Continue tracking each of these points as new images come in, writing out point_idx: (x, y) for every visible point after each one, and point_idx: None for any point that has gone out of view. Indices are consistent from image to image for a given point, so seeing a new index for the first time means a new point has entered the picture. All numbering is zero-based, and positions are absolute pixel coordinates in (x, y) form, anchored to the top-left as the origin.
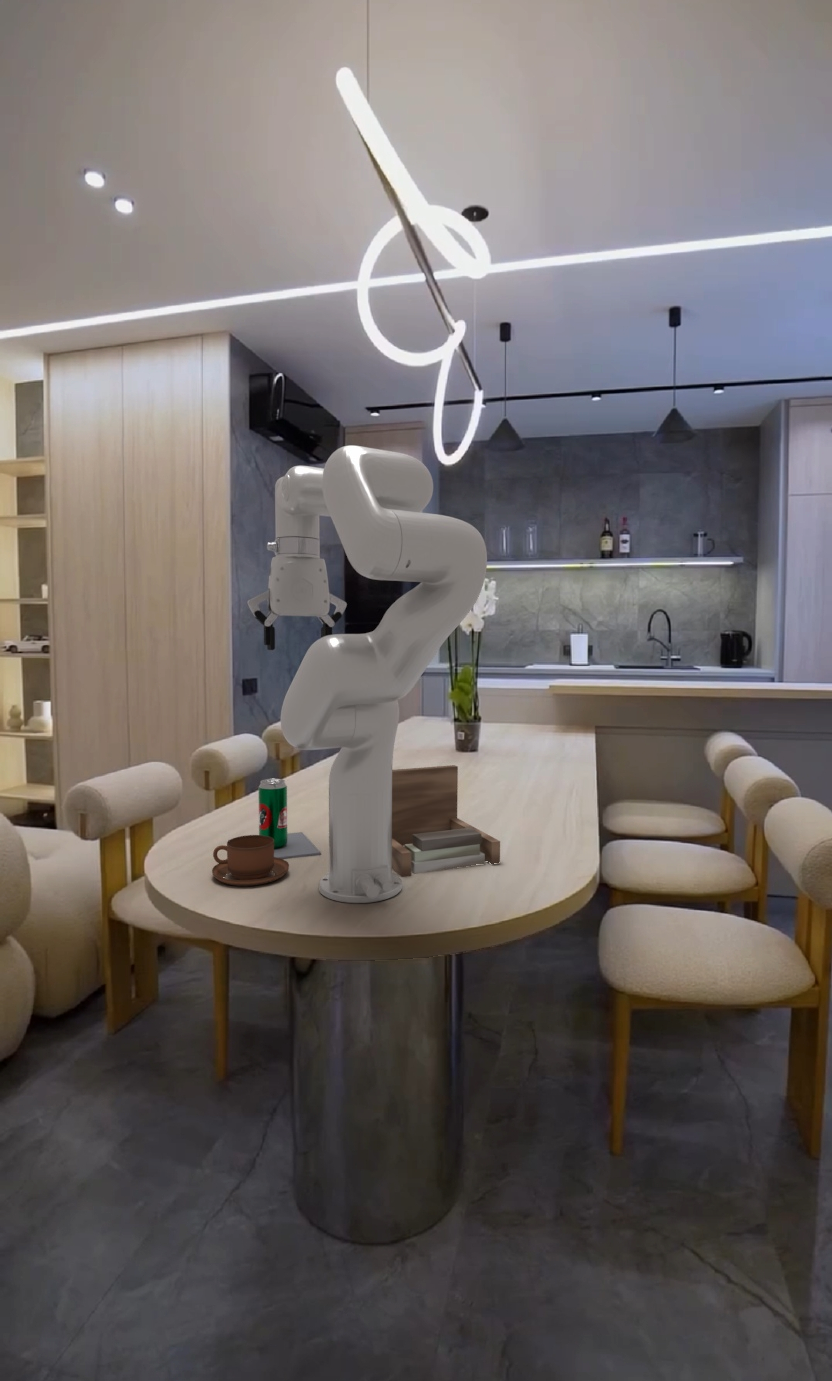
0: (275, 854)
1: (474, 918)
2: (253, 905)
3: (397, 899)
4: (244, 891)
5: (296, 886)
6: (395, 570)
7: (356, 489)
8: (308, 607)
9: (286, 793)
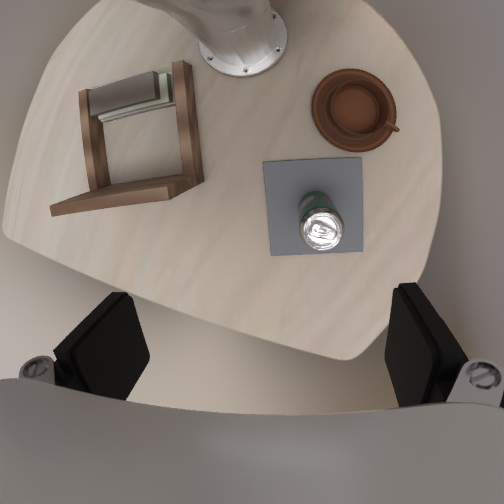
0: (318, 172)
1: None
2: (354, 36)
3: None
4: None
5: (307, 68)
6: None
7: None
8: (91, 449)
9: (301, 216)
